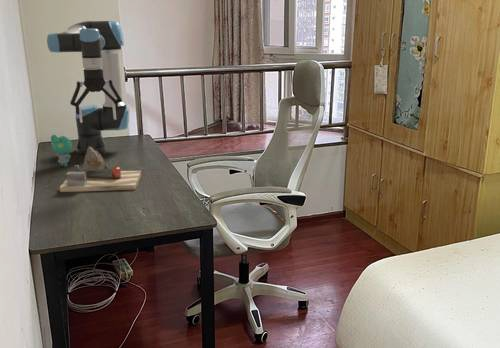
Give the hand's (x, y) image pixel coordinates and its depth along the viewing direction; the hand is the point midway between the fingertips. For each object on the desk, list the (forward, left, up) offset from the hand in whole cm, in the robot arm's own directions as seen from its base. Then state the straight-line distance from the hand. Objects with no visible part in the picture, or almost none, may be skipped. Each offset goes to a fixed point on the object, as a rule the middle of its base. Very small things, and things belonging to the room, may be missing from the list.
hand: (98, 120), depth 206 cm
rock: (-14, -7, -26) cm, 31 cm away
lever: (+3, -1, -24) cm, 24 cm away
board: (+4, 0, -26) cm, 26 cm away
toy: (-23, -23, -26) cm, 42 cm away
